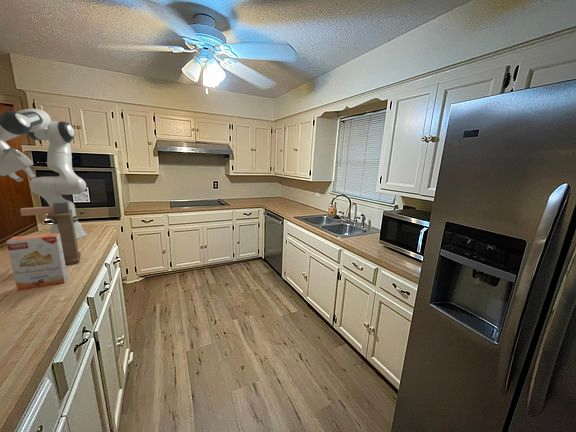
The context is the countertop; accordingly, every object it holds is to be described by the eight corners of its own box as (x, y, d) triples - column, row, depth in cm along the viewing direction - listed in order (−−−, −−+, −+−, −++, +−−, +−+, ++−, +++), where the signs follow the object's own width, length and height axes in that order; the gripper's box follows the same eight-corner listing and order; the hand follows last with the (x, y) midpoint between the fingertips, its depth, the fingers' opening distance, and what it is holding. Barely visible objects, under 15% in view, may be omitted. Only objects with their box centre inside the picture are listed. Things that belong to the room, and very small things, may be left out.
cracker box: (16, 292, 94) (4, 240, 89) (23, 285, 99) (11, 236, 94) (64, 284, 101) (56, 236, 96) (68, 277, 106) (60, 232, 101)
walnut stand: (59, 258, 125) (50, 211, 119) (80, 255, 130) (73, 209, 124) (55, 267, 115) (46, 215, 110) (79, 263, 120) (70, 214, 115)
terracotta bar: (23, 214, 111) (21, 203, 110) (69, 210, 121) (68, 201, 120) (20, 216, 107) (18, 205, 106) (68, 212, 117) (67, 202, 116)
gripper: (20, 143, 105) (47, 171, 113) (-6, 154, 112) (21, 180, 119) (4, 149, 101) (33, 178, 108) (-22, 160, 107) (7, 186, 114)
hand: (27, 179), depth 114 cm, fingers open, 8 cm apart
